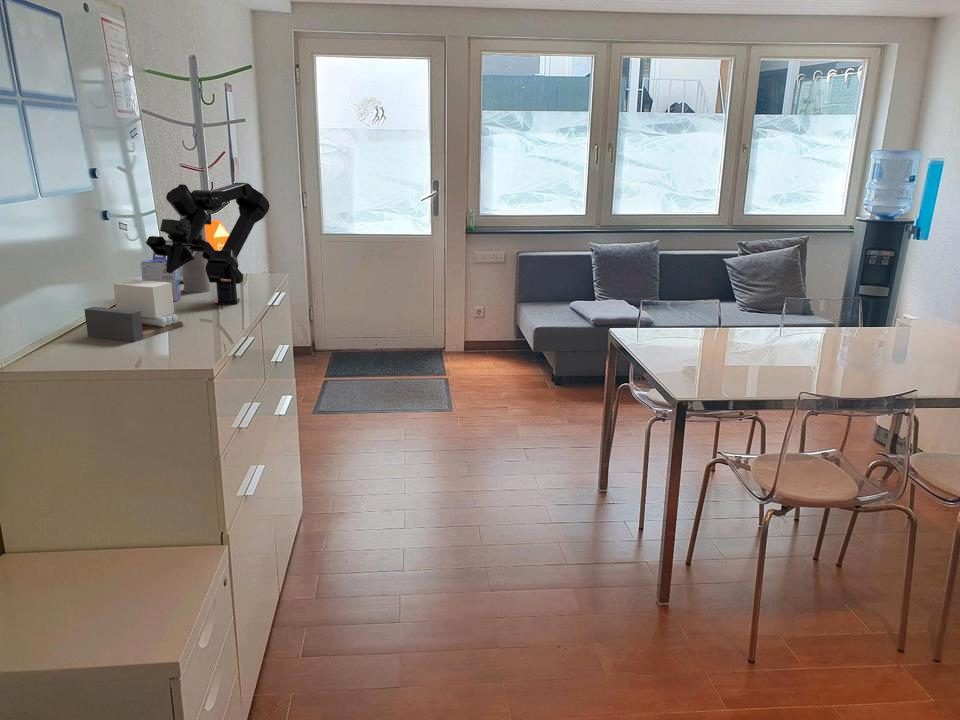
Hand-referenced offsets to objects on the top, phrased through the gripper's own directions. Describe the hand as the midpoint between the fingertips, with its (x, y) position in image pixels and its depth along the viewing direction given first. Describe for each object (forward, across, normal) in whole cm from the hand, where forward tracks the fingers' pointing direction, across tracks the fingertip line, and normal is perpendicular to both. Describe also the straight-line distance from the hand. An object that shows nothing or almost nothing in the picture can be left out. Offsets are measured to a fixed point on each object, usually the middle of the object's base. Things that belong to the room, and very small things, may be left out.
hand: (168, 272), depth 202 cm
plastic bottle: (-24, -34, +43) cm, 60 cm away
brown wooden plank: (+19, 0, 0) cm, 19 cm away
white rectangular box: (+15, 0, +1) cm, 15 cm away
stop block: (+24, 0, -6) cm, 25 cm away
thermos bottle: (-17, -20, +36) cm, 45 cm away
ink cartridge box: (-6, -20, +24) cm, 32 cm away
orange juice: (-36, -31, +54) cm, 72 cm away
